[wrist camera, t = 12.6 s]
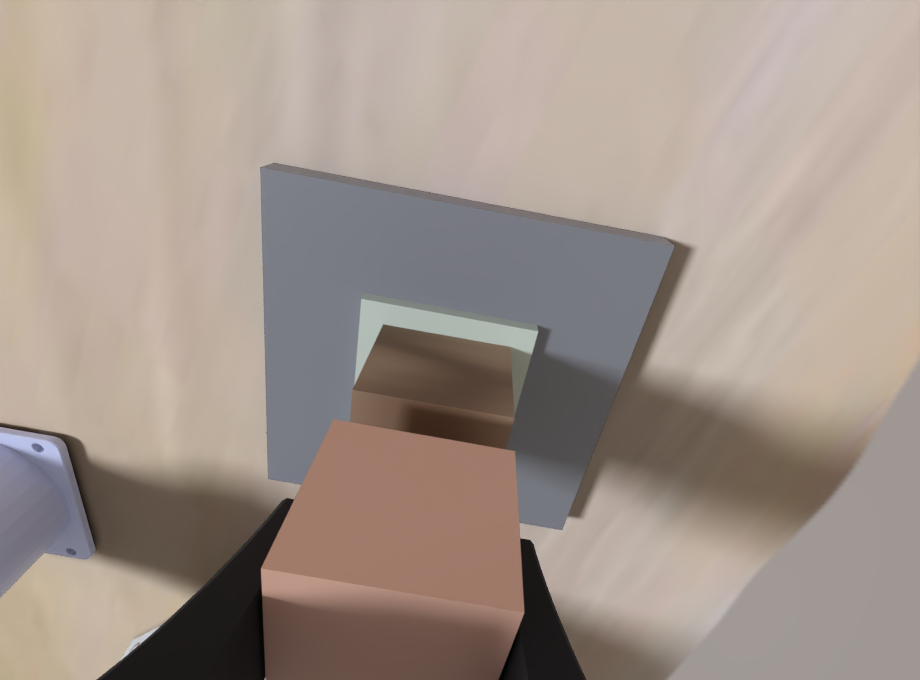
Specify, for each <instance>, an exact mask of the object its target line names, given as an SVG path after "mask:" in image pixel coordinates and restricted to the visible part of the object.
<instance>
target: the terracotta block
mask: <svg viewBox="0 0 920 680" xmlns="http://www.w3.org/2000/svg"><path fill="white" fill-rule="evenodd" d="M261 582H262V605H263V629H264V652H265V676H266V680H499V677H500V675H501V672H502V670H503V667H504V664H505V662H506V659H507V657H508V654H509V651H510V649H511V646H512V644H513V641H514V638H515V636H516V633H517V631H518V628H519V625H520V623H521V620H522V618H523V615H524V597H523V580H522V563H521V545H520V528H519V511H518V493H517V476H516V459H515V451H511V450H506V449H500V448H494V447H489V446H483V445H477V444H472V443H466V442H460V441H454V440H449V439H443V438H437V437H432V436H426V435H420V434H415V433H409V432H403V431H398V430H392V429H386V428H380V427H375V426H369V425H363V424H358V423H352V422H346V421H341V420H335V419H333V421H332V423H331V426H330V428H329V430H328V432H327V434H326V436H325V438H324V440H323V442H322V444H321V446H320V448H319V450H318V452H317V454H316V456H315V458H314V460H313V463H312V465H311V467H310V469H309V471H308V473H307V475H306V477H305V479H304V481H303V483H302V485H301V487H300V489H299V491H298V493H297V495H296V497H295V499H294V502H293V504H292V506H291V508H290V510H289V512H288V514H287V516H286V518H285V520H284V522H283V524H282V526H281V528H280V530H279V532H278V534H277V536H276V539H275V541H274V543H273V545H272V547H271V549H270V551H269V553H268V555H267V557H266V559H265V561H264V563H263V565H262V567H261Z"/></svg>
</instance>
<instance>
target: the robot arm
mask: <svg viewBox="0 0 920 680" xmlns="http://www.w3.org/2000/svg"><path fill="white" fill-rule="evenodd" d="M293 502H294V499H288V498H287V499H285V500H283V501H282V502H281V503H280V504H279V505H278V507H277V508H276V509H275V510H274V511H273V513H272V514H271V515H270V516H269V517H268V518H267V520H266V521H265V522H264V523H263V524H262V525H261V526H260V528H259V529H258V530H257V531H256V532H255V533H254V534H253V535H252V536H251V538H250V539H249V540H248V541H247V542H246V543H245V544H244V545H243V546H242V547H241V548H240V550H239V551H238V552H237V553H236V554H235V555H234V556H233V557H232V558H231V559H230V560H229V561H228V562H227V563H226V564H225V565H224V566H223V567H222V568H221V569H220V570H219V571H218V572H217V573H216V574H215V575H214V576H213V577H212V578H211V579H210V580H209V581H208V582H207V583H206V584H205V585H204V586H203V587H202V588H201V589H200V590H199V591H198V592H197V593H196V594H195V595H194V596H193V597H192V598H191V599H189V600H188V601H187V602H186V603H185V604H184V605H183V606H182V607H181V608H180V609H179V610H178V611H177V612H176V613H175V614H174V615H172V616H171V617H170V618H169V619H168V620H167V621H166V622H165V623H164V624H163V625H161V626H160V627H159V628H158V629H157V630H156V631H155V632H154V633H152V634H151V635H150V636H149V637H148V638H147V639H146V640H144V641H143V642H142V643H141V644H140V645H139V646H137V647H136V648H135V649H134V650H133V651H131V652H130V653H129V654H128V655H127V656H125V657H124V658H123V659H122V660H121V661H119V662H118V663H117V664H116V665H115V666H113V667H112V668H111V669H110V670H108V671H107V672H106V673H105V674H103V675H102V676H101V677H99V678H98V679H97V680H264V679H265V677H266V676H265V652H264V629H263V605H262V582H261V567H262V565H263V563H264V561H265V559H266V557H267V555H268V553H269V551H270V549H271V547H272V545H273V543H274V541H275V539H276V536H277V534H278V532H279V530H280V528H281V526H282V524H283V522H284V520H285V518H286V516H287V514H288V512H289V510H290V508H291V506H292V504H293ZM520 545H521V563H522V580H523V597H524V615H523V618H522V620H521V623H520V625H519V628H518V631H517V633H516V636H515V638H514V641H513V644H512V646H511V649H510V651H509V654H508V657H507V659H506V662H505V664H504V667H503V670H502V672H501V675H500V677H499V680H586V678H585V676H584V674H583V672H582V670H581V667H580V665H579V663H578V661H577V659H576V656H575V654H574V652H573V650H572V647H571V645H570V643H569V640H568V638H567V635H566V633H565V631H564V628H563V626H562V623H561V621H560V619H559V616H558V614H557V611H556V609H555V606H554V604H553V601H552V598H551V595H550V593H549V590H548V587H547V585H546V582H545V579H544V576H543V573H542V570H541V567H540V564H539V561H538V558H537V555H536V551H535V548H534V544H533V543H532V542H531V541H530V540H526V539H521V538H520ZM95 552H96V549H95V545H94V542H93V538H92V535H91V531H90V528H89V524H88V521H87V517H86V514H85V510H84V506H83V503H82V499H81V496H80V492H79V489H78V485H77V482H76V478H75V475H74V471H73V468H72V464H71V461H70V457H69V453H68V450H67V446H66V444H65V443H64V442H63V441H62V440H61V439H60V438H58V437H55V436H49V435H43V434H38V433H32V432H26V431H21V430H15V429H9V428H3V427H0V598H1V597H2V596H3V595H4V594H5V593H6V592H7V591H8V590H9V589H10V588H11V587H12V586H13V584H14V583H15V582H16V581H17V580H18V579H19V578H20V577H21V576H22V575H23V574H24V573H25V572H26V571H27V570H28V569H29V568H30V567H31V566H32V565H33V564H34V563H35V562H36V561H37V560H38V559H39V558H40V557H41V556H42V555H43V554H44V553H49V554H55V555H61V556H67V557H73V558H78V559H89V558H90V557H91V556H92V555H93V554H94V553H95Z"/></svg>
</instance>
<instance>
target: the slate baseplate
mask: <svg viewBox="0 0 920 680" xmlns="http://www.w3.org/2000/svg"><path fill="white" fill-rule="evenodd" d="M260 173H261V214H262V254H263V294H264V334H265V375H266V415H267V455H268V479H271V480H277V481H283V482H289V483H294V484H300V485H302V483H303V481H304V479H305V477H306V475H307V473H308V471H309V469H310V467H311V465H312V463H313V460H314V458H315V456H316V454H317V452H318V450H319V448H320V446H321V444H322V442H323V440H324V438H325V436H326V434H327V432H328V430H329V428H330V426H331V423H332V421H333V419H335V420H341V421H346V422H350V415H351V400H352V389H353V387H354V385H355V383H356V381H357V379H358V377H359V374H360V372H361V370H362V368H363V366H364V364H365V362H366V360H367V358H368V355H369V353H370V351H371V349H372V347H373V345H374V343H375V341H376V338H377V336H378V334H379V332H380V330H381V328H382V326H383V324H384V325H390V326H396V327H401V328H407V329H413V330H418V331H424V332H429V333H435V334H441V335H446V336H452V337H458V338H463V339H469V340H474V341H480V342H486V343H491V344H497V345H503V346H508V347H510V350H511V367H512V383H513V399H514V415H515V419H514V422H513V426H512V430H511V433H510V437H509V441H508V444H507V448H506V450H511V451H515V459H516V476H517V493H518V511H519V523H524V524H530V525H535V526H541V527H547V528H553V529H558V530H562V529H563V527H564V524H565V522H566V519H567V516H568V514H569V511H570V509H571V506H572V504H573V501H574V499H575V496H576V494H577V491H578V489H579V486H580V484H581V481H582V479H583V476H584V474H585V471H586V469H587V466H588V464H589V461H590V459H591V456H592V453H593V451H594V448H595V446H596V443H597V441H598V438H599V436H600V433H601V431H602V428H603V426H604V423H605V421H606V418H607V416H608V413H609V411H610V408H611V406H612V403H613V401H614V398H615V396H616V393H617V391H618V388H619V385H620V383H621V380H622V378H623V375H624V373H625V370H626V368H627V365H628V363H629V360H630V358H631V355H632V353H633V350H634V348H635V345H636V343H637V340H638V338H639V335H640V333H641V330H642V328H643V325H644V322H645V320H646V317H647V315H648V312H649V310H650V307H651V305H652V302H653V300H654V297H655V295H656V292H657V290H658V287H659V285H660V282H661V280H662V277H663V275H664V272H665V270H666V267H667V265H668V262H669V259H670V257H671V254H672V252H673V249H674V247H675V246H674V245H673V244H672V243H671V242H669V241H668V240H667V239H666V238H665V237H660V236H655V235H650V234H644V233H639V232H634V231H629V230H623V229H618V228H613V227H608V226H602V225H597V224H592V223H587V222H581V221H576V220H571V219H566V218H560V217H555V216H550V215H545V214H539V213H534V212H529V211H523V210H518V209H513V208H508V207H502V206H497V205H492V204H487V203H481V202H476V201H471V200H466V199H460V198H455V197H450V196H445V195H439V194H434V193H429V192H424V191H418V190H413V189H408V188H403V187H397V186H392V185H387V184H382V183H376V182H371V181H366V180H361V179H355V178H350V177H345V176H339V175H334V174H329V173H324V172H318V171H313V170H308V169H303V168H297V167H292V166H287V165H282V164H276V163H272V164H269V165H266V166H263V167H260Z"/></svg>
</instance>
